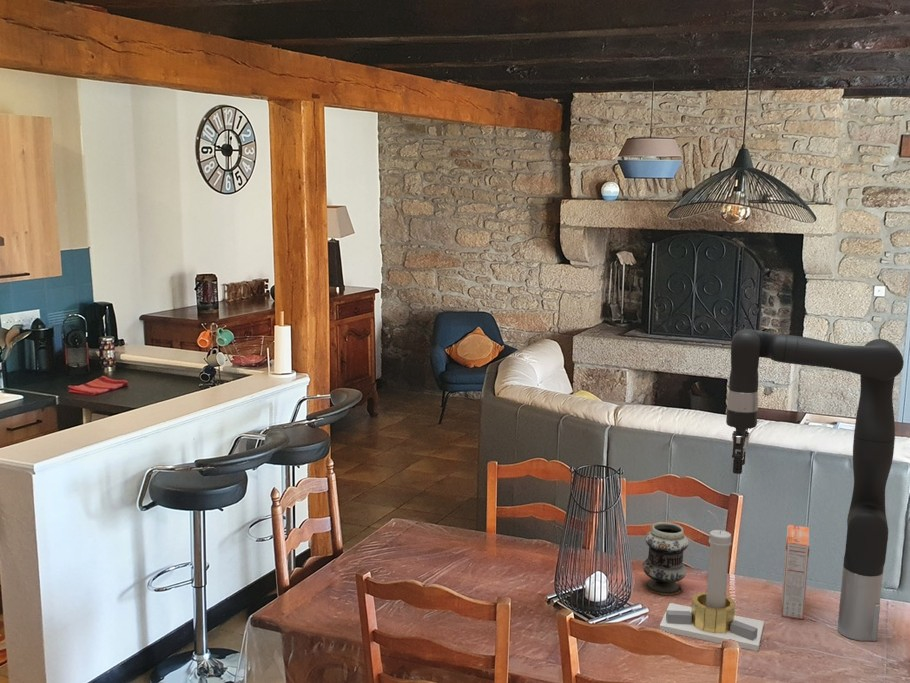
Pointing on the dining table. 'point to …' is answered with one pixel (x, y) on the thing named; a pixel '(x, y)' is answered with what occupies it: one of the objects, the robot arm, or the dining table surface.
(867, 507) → the robot arm
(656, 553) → the apothecary jar
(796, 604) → the cracker box
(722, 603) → the pipe
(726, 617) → the collar
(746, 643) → the shaft base
